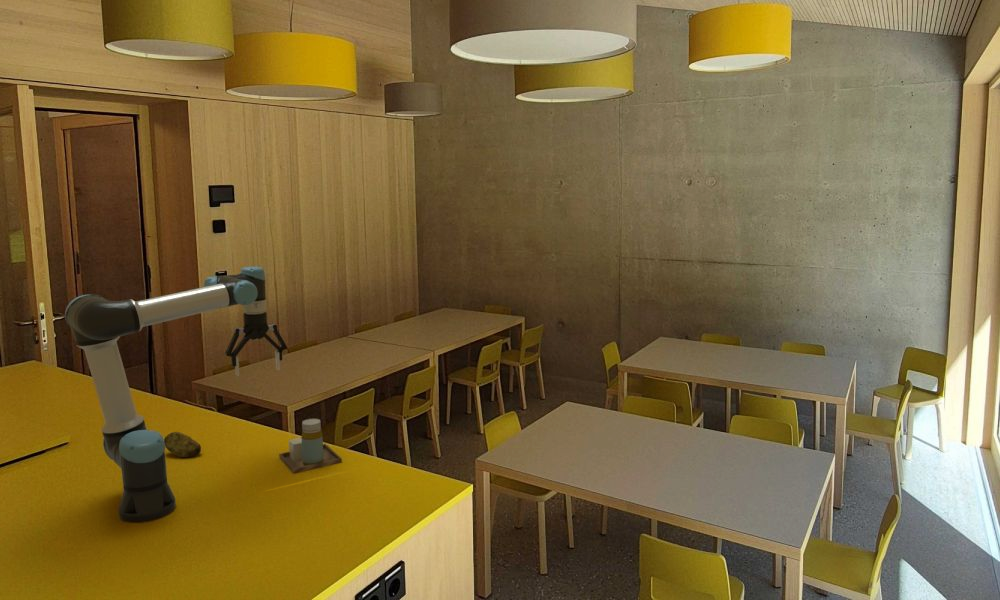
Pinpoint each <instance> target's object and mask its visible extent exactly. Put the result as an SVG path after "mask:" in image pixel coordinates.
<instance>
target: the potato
mask: <svg viewBox="0 0 1000 600" xmlns="http://www.w3.org/2000/svg"><path fill="white" fill-rule="evenodd" d="M163 440H164V443H165V449H167V450H168V452H171V453H173V454H174V455H175V456H177V457H180V458H190V457H195V456H197V455H198V454H200V453H201V452H202V447H201V444H200V443H199V442H198V441H197V440H195V439H193V438H192V437H191V436H189V435H186V434H184V433H183V432H179V431H173V432H170V433H169V434H167V435H166V436H165V437H164V438H163Z"/></svg>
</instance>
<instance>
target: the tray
mask: <svg viewBox="0 0 1000 600" xmlns="http://www.w3.org/2000/svg"><path fill="white" fill-rule="evenodd" d="M278 455H279V456H278V457H279V459H280V461H281V462H282V463H283V464H284V465H285V467H286V468H288V470H290V472H291V473H292V474H293V475H294V474H297V473H298V474H299V473H302V472H306V471H310V470H311V471H312V470H315V469H319V468H322V467H328V466H332V465H336V464H341V463H342V462H343V458H342V457H340V455H338V454H337V452H335V451H334V450H333V449H332V448H331V447H330V446H329V445H327V444H326V443H323V462H321V463H316V464H312V465H308V466H306V465H305V464H304V463H303V459H300V460H296V461H294V460H293V459H292V458H291V457H290V452H289V451H287V452H282V453H278Z"/></svg>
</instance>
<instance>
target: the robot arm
mask: <svg viewBox="0 0 1000 600" xmlns="http://www.w3.org/2000/svg"><path fill="white" fill-rule="evenodd" d="M237 305H242V311H243V312H244V313H243V314H242V315H243V327H237V326H235V327H234V328H233V334H232V336H231V339H230V341H229V344H228V345H227V348H226V350H225V352H224V353H225V355H226V356H227V357H231V365H232V367H234V369H235V370H234V371H235V372H234V374H235V376H237V377H240V363H239V361H240V360H239V356H238V354H239V353H240V352H241V351H242V349H243V348H244V347H245V345H246V344H247V342H249V341H250V340H252V341H254V340H261V339H264V338H265V340H266V341H268V342H269V344H270V345H272V346H273V347H274V348H275V349H276V350H275V351H274V356H275V359H274V361H275V370H276V371H279V372H280V371H281V362H280V361H283V352H284V351H285V350H288V346H287V344H286V342H285V341H284V339H283V337H282V336H281V334H280V332H279V330H278V326H277V324H276V323H271V324H268V315H267V312H266V311H267V298H266V275H265V270H264V268H263V267H260V266H246V267H242V268H241V269H240V273H237V274H229V275H228V274H227V275H226V274H225V275H214V276H208V277H206V278H205V280H204V284H203V287H197V288H193V289H189V290H185V291H184V290H183V291H179V292H175V293H170V294H165V295H160V296H154V297H152V298H151V297H150V298H147V299H141V300H137V301H135V300H133V299H132V298H130V299H124V300H108V299H105V298H104V297H102V296H101V295H98V294H83V295H79V296H77V297H75V298H74V299H72V300H71V301H70V302H69V303H68V304H67V306H66V307H65V311H64V318H65V321H66V322H65V323H66V324H67V325H68V327H69V328H70V329H71V333H72V336H73V338H74V342H75V344H76V347H78V348H80V349H82V350H83V351H84V354H85V359H86V361H87V365H88V367H89V371H90V374H91V378H92V381H93V384H94V387H95V391H96V395H97V398H98V402H99V405H100V408H101V412H102V415H103V419H104V424H103V425H102V427H101V432H102V437H103V441H102V444H103V449H104V452H105V454H106V456H107V457H108V458H109V459H111V460H112V461H113V462H114V463H115V464H116V465H117V466H118V467H119V468H120V470H121V475H122V486H123V487H122V488H123V491H122V494H121V500H120V502H119V506H118V517H119V519H120V520H121V521H123V522H128V523H144V522H145V523H146V522H150V521H154V520H158V519H161V518H163V517H165V516H167V515H168V514H169V515H170V513H172V512H173V511H174V510H175V509H176V507H177V503H176V498H175V494H174V492H173V490H172V489H171V487H170V485H169V482H168V475H167V474H168V473H167V461H166V451H165V450H166V447H165V443H164V437H163V435H162V434H161V433H160V432H158V431H155V430H150V429H147V425H146V422H145V419H144V416H143V415H141V414H138V413H137V410H136V407H135V403H134V400H133V397H132V392H131V390H130V385H129V381H128V378H127V374H126V371H125V366H124V363H123V361H122V356H121V353H120V351H119V350H120V349H119V345H118V343H117V342H118V340H119V339H120V337H123V336H127V335H131V334H134V333H138V332H141V330H142V329H143V327H148V326H152V325H156V324H161V323H164V322H169V321H173V320H177V319H181V318H185V317H189V316H195V315H198V314H202V313H207V312H211V311H215V310H219V309H225V308H226V307H227V308H228V307H232V306H237ZM269 329H270V331H271V332H273V334H274V335H275V337H276V340H277V341H278V342H279V344H277V343H276V341H275V340H273V339H272V337H270V336H269V335H268V334H267V333H268V331H269ZM242 332H243V333H244V336H242V339H241V340H240V341H239V343H238V344H237V345H236V343H237V340H238V339H239V337H240V335H241V334H242ZM279 345H280V346H279ZM235 346H236V347H235Z"/></svg>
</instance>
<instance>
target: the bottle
mask: <svg viewBox="0 0 1000 600" xmlns="http://www.w3.org/2000/svg"><path fill="white" fill-rule="evenodd" d="M321 426H322V425H321V419H319V418H308V419H305V420H302V423H301V427H302V428H301V430H302V433H301V438H302V457H303V463H304V464H305V465H306V466H308V465H312V464H316V463H321V462H323V444H324V440H323V438H324V437H323V431H322V428H321Z"/></svg>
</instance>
